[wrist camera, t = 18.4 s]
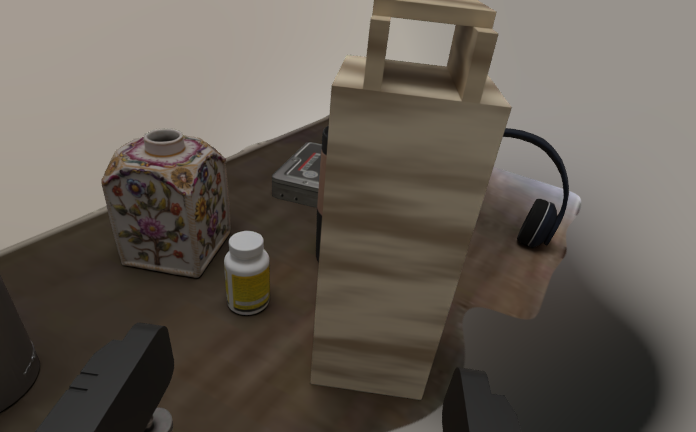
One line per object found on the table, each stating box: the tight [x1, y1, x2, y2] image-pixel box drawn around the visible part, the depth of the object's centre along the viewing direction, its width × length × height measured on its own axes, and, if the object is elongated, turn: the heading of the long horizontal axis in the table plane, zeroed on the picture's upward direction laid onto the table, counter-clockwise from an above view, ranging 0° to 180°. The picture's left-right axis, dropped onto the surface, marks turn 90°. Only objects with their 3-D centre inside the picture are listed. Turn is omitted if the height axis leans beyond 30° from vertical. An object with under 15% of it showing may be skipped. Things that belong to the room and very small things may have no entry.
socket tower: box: [310, 0, 512, 400], centre depth 39 cm, size 10×12×37 cm
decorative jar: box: [102, 129, 231, 278], centre depth 58 cm, size 12×12×18 cm
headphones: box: [503, 128, 569, 248], centre depth 70 cm, size 20×7×18 cm, turn 61°
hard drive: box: [272, 142, 322, 208], centre depth 81 cm, size 18×27×4 cm
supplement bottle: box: [224, 231, 270, 315], centre depth 52 cm, size 5×5×10 cm
